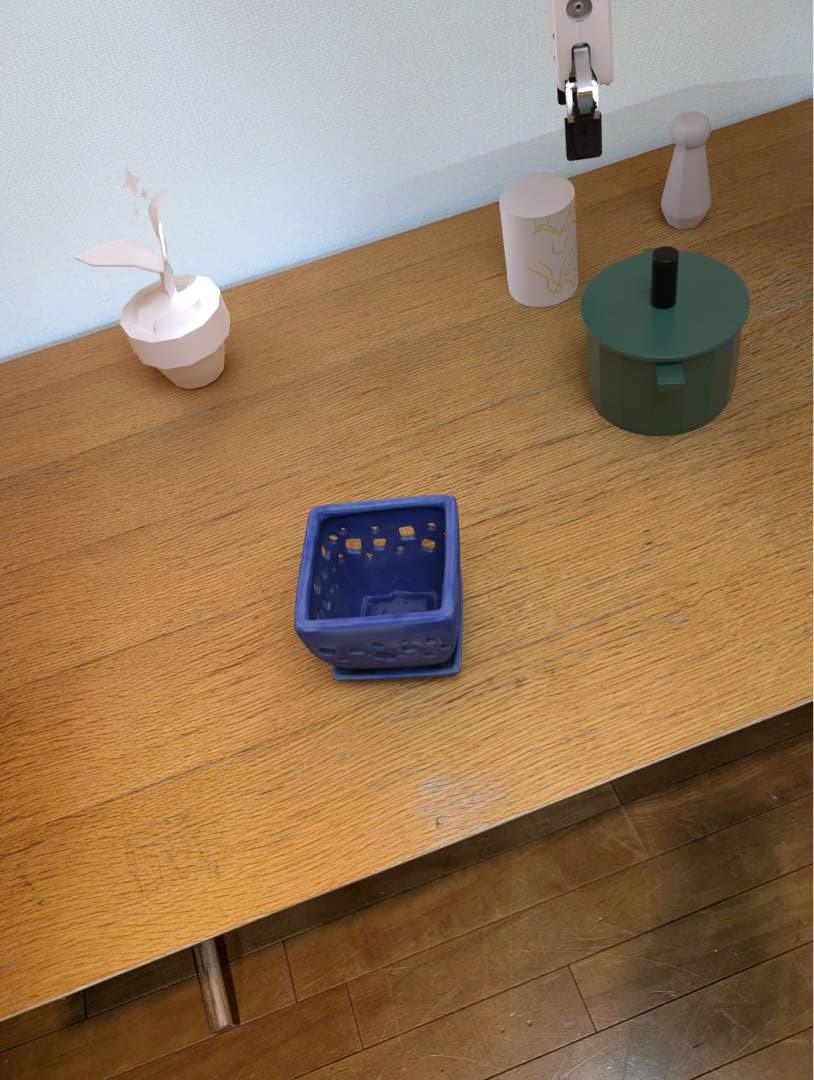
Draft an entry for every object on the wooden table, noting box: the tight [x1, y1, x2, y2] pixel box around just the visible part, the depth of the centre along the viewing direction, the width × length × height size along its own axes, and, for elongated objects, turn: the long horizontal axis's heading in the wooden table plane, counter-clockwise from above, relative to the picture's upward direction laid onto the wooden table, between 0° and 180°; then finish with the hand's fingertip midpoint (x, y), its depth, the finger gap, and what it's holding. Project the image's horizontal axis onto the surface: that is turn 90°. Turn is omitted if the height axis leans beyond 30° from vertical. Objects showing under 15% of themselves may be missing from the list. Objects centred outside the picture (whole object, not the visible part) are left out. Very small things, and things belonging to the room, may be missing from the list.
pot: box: [586, 247, 743, 437], centre depth 99 cm, size 15×20×10 cm
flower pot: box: [293, 494, 464, 682], centre depth 85 cm, size 13×13×12 cm
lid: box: [579, 245, 751, 362], centre depth 93 cm, size 16×16×7 cm
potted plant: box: [73, 166, 231, 390], centre depth 107 cm, size 13×12×25 cm
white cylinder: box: [498, 172, 579, 308], centre depth 112 cm, size 8×8×12 cm
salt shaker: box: [660, 111, 713, 231], centre depth 114 cm, size 6×6×13 cm
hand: (579, 128), depth 93 cm, fingers open, 9 cm apart
